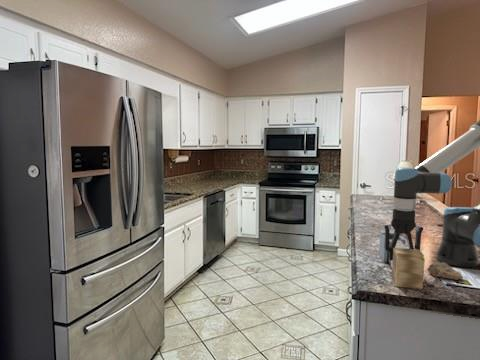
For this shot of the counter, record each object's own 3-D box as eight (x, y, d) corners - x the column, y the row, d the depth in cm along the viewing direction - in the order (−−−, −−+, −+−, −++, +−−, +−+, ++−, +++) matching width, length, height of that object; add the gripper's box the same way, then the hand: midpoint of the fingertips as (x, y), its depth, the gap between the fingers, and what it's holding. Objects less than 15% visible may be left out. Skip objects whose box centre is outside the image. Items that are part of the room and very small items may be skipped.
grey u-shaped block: (397, 254, 148) (399, 230, 146) (403, 263, 137) (405, 237, 136) (379, 253, 149) (380, 229, 148) (383, 262, 138) (385, 236, 137)
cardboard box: (416, 280, 120) (418, 249, 119) (422, 288, 113) (424, 256, 112) (391, 278, 122) (393, 247, 121) (396, 286, 115) (397, 254, 114)
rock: (424, 274, 126) (451, 279, 117) (425, 259, 127) (451, 262, 118) (438, 276, 130) (465, 281, 121) (438, 261, 131) (465, 264, 122)
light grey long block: (399, 261, 138) (400, 239, 137) (410, 278, 121) (412, 253, 120) (387, 260, 140) (388, 239, 138) (396, 276, 122) (398, 252, 121)
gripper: (427, 208, 125) (423, 267, 128) (377, 206, 130) (374, 263, 132) (433, 212, 118) (429, 275, 121) (380, 209, 122) (377, 270, 125)
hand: (400, 268), depth 127 cm, fingers closed on light grey long block, 5 cm apart
